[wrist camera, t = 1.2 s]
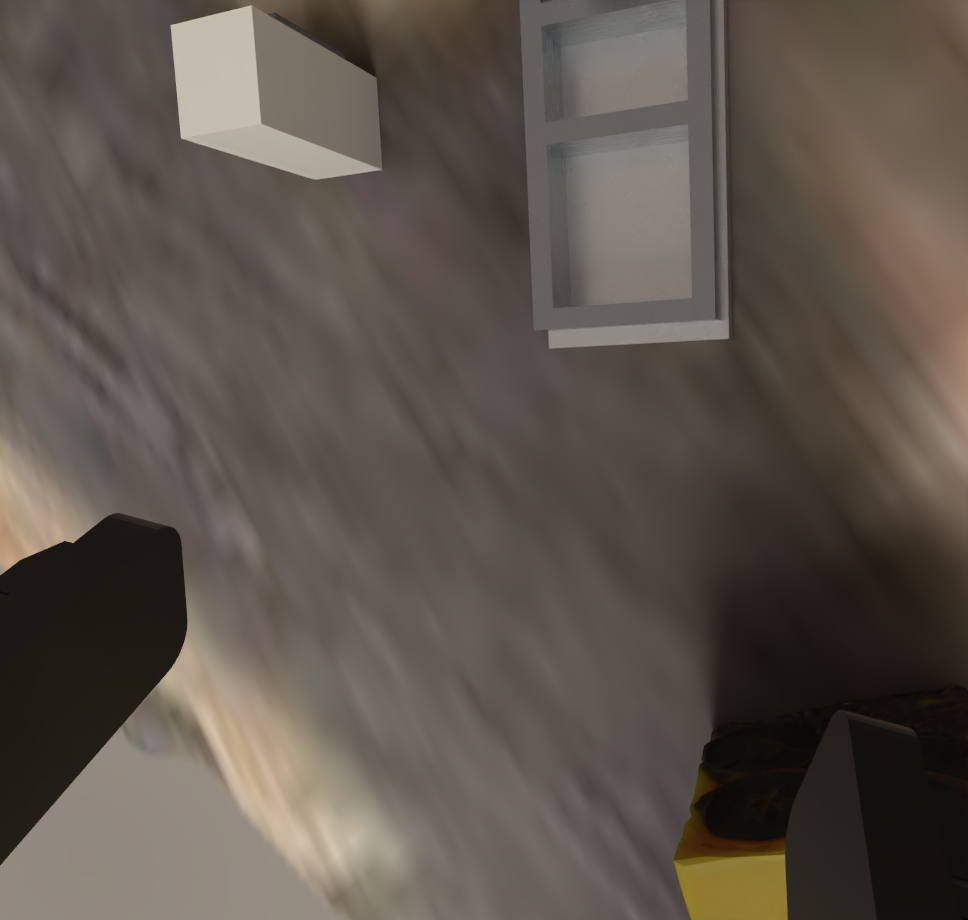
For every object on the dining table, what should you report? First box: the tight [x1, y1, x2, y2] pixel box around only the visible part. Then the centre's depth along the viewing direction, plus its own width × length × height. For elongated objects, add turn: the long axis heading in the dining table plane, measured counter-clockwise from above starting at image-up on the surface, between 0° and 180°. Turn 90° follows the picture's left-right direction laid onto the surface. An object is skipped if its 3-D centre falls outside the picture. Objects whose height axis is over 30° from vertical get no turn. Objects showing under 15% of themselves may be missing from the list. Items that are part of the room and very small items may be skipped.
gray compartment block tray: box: [519, 0, 733, 348], centre depth 29 cm, size 20×7×10 cm, turn 3°
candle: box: [674, 685, 968, 920], centre depth 30 cm, size 10×10×10 cm
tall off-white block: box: [171, 5, 382, 180], centre depth 35 cm, size 4×4×9 cm
